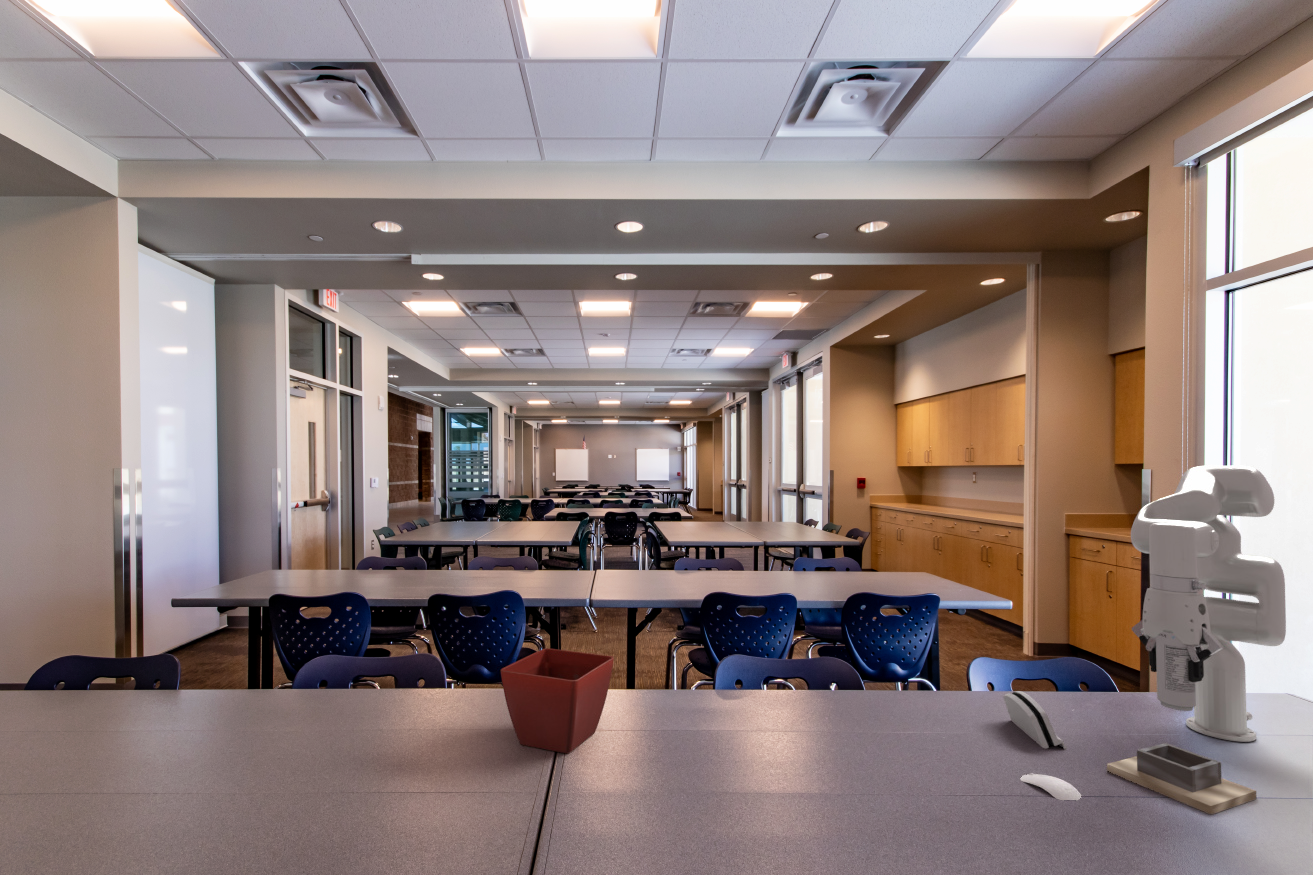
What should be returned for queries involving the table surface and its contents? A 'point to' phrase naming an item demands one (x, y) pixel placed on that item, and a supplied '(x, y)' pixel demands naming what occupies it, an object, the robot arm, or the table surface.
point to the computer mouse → (1053, 786)
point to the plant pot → (556, 697)
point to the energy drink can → (1173, 673)
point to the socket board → (1183, 778)
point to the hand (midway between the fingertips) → (1175, 675)
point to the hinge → (1031, 719)
